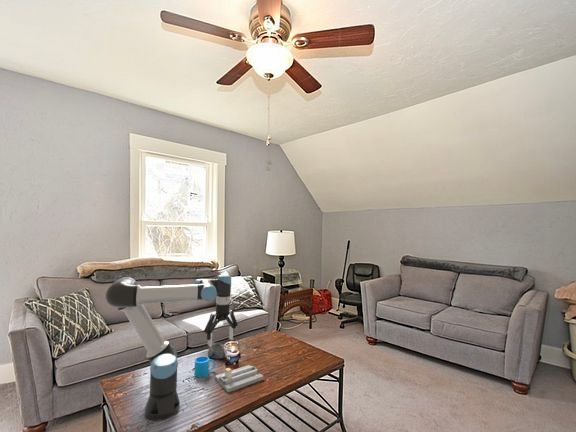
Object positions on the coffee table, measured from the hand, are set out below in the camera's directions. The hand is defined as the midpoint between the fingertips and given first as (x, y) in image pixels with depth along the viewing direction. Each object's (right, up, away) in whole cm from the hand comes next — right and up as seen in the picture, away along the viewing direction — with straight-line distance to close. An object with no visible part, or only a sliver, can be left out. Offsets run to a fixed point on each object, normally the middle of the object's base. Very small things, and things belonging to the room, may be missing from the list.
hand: (220, 342), depth 159 cm
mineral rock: (-9, -24, +30) cm, 39 cm away
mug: (-12, -23, +11) cm, 28 cm away
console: (+9, -23, +5) cm, 25 cm away
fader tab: (+4, -21, +1) cm, 21 cm away
